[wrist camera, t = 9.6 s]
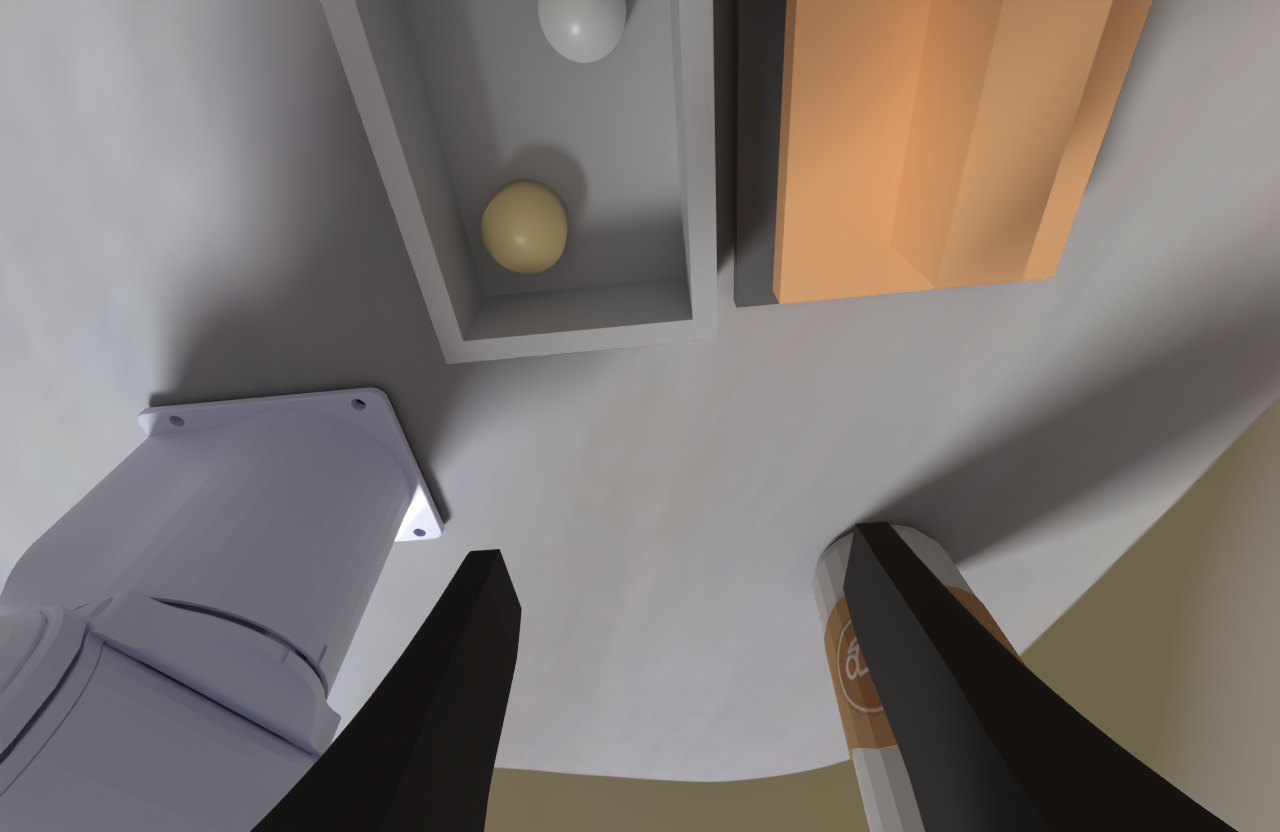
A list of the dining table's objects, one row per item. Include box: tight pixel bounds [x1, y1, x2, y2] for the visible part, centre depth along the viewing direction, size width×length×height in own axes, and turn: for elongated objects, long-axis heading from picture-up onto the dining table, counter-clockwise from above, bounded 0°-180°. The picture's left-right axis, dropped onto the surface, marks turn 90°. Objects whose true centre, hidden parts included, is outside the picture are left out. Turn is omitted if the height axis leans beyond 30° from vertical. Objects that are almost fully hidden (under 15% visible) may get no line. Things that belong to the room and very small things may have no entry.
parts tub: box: [320, 0, 718, 364], centre depth 15 cm, size 8×11×4 cm
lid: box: [773, 0, 1153, 304], centre depth 13 cm, size 8×11×5 cm
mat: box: [734, 0, 787, 307], centre depth 15 cm, size 10×13×1 cm
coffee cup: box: [813, 525, 1025, 832], centre depth 22 cm, size 8×8×15 cm
